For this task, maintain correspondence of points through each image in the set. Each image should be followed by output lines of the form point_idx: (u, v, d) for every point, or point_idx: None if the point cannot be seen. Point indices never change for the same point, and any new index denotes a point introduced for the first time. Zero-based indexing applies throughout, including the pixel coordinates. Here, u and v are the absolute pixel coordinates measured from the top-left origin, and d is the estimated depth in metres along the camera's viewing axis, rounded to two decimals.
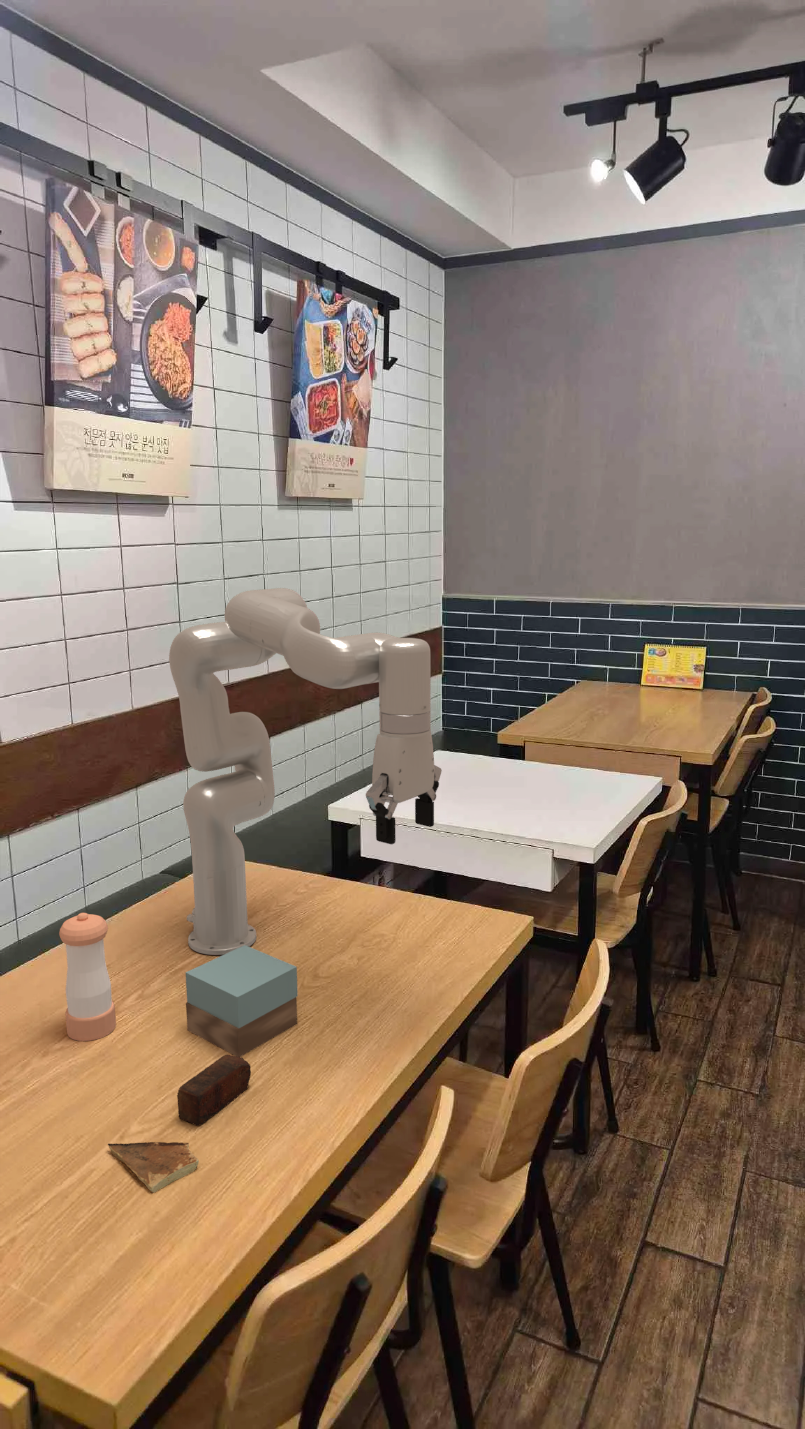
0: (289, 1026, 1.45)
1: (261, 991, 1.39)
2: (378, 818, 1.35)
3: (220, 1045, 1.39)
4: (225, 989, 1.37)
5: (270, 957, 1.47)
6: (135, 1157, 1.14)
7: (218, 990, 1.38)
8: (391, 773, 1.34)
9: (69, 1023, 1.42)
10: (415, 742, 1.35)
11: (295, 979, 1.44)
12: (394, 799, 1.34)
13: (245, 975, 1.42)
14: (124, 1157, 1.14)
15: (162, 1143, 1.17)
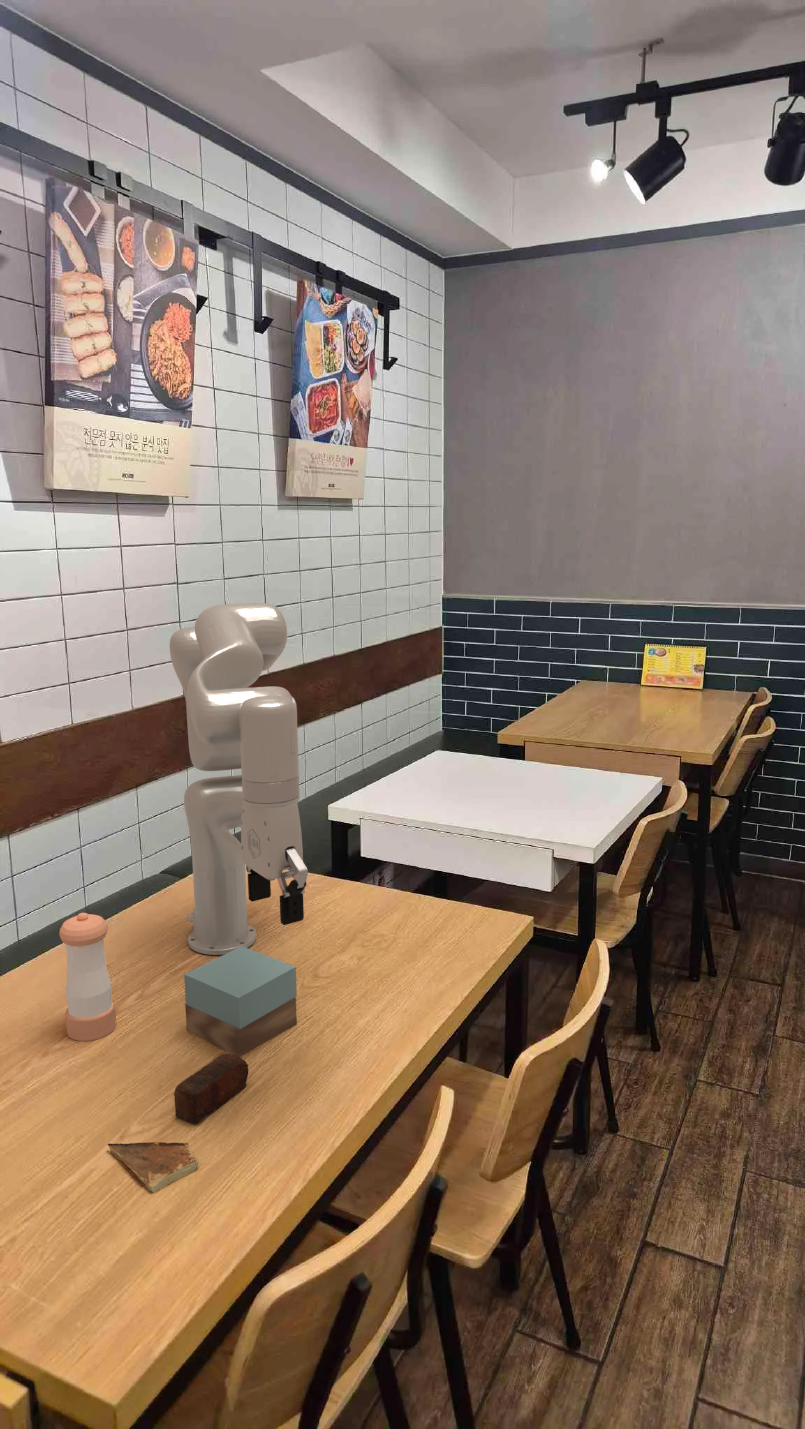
0: (288, 1027, 1.44)
1: (261, 992, 1.39)
2: (291, 898, 1.21)
3: (219, 1045, 1.39)
4: (226, 990, 1.37)
5: (268, 958, 1.47)
6: (135, 1157, 1.14)
7: (218, 991, 1.38)
8: (298, 843, 1.22)
9: (69, 1023, 1.42)
10: None
11: (294, 980, 1.44)
12: None
13: (244, 975, 1.41)
14: (124, 1157, 1.14)
15: (162, 1143, 1.17)
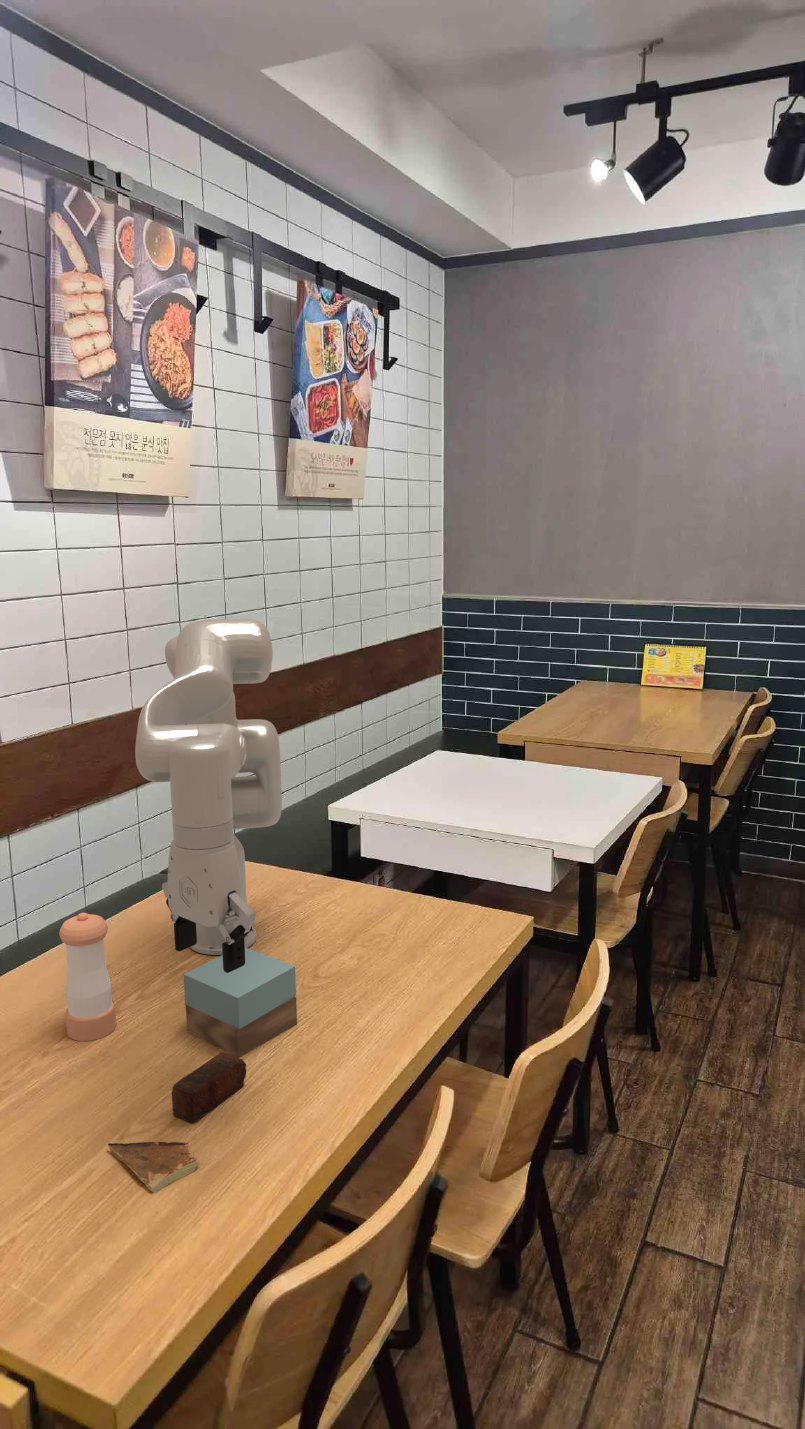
0: (289, 1026, 1.44)
1: (260, 992, 1.39)
2: (235, 944, 1.17)
3: (220, 1045, 1.39)
4: (225, 990, 1.37)
5: (267, 957, 1.47)
6: (135, 1157, 1.14)
7: (217, 991, 1.37)
8: (238, 887, 1.18)
9: (69, 1023, 1.42)
10: None
11: (293, 979, 1.44)
12: None
13: (243, 975, 1.41)
14: (124, 1157, 1.14)
15: (162, 1143, 1.17)
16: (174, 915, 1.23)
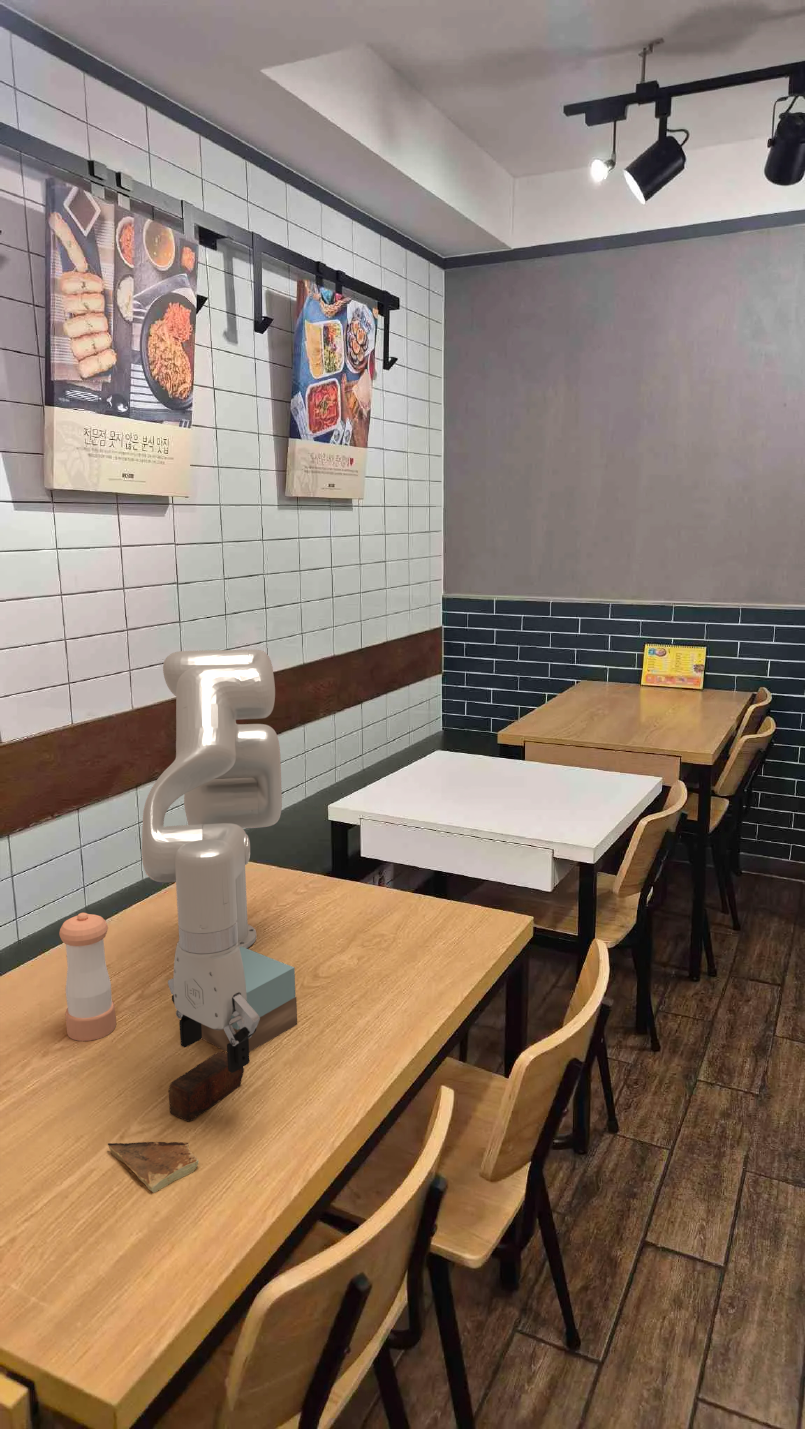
0: (289, 1026, 1.44)
1: (259, 993, 1.38)
2: (239, 1045, 1.20)
3: (220, 1045, 1.39)
4: None
5: (267, 958, 1.47)
6: (135, 1156, 1.14)
7: None
8: (243, 988, 1.20)
9: (69, 1023, 1.42)
10: None
11: (293, 980, 1.44)
12: None
13: None
14: (124, 1157, 1.14)
15: (162, 1143, 1.16)
16: (180, 1012, 1.26)
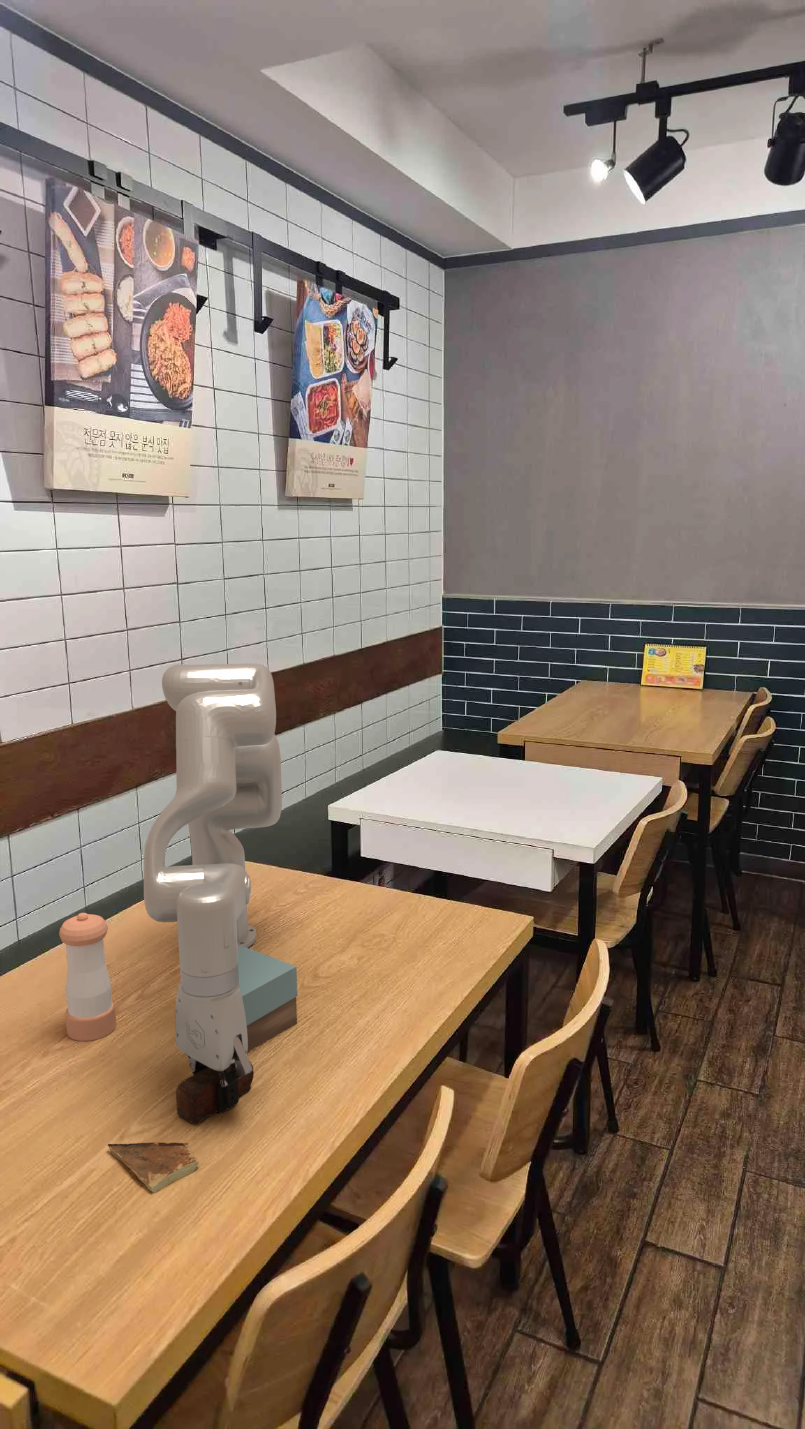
0: (289, 1026, 1.45)
1: (262, 992, 1.39)
2: (228, 1086, 1.23)
3: None
4: None
5: (269, 957, 1.47)
6: (135, 1157, 1.14)
7: None
8: (243, 1030, 1.22)
9: (69, 1023, 1.42)
10: None
11: (295, 979, 1.44)
12: (246, 1054, 1.23)
13: (245, 975, 1.41)
14: (124, 1157, 1.14)
15: (162, 1143, 1.17)
16: (192, 1063, 1.26)
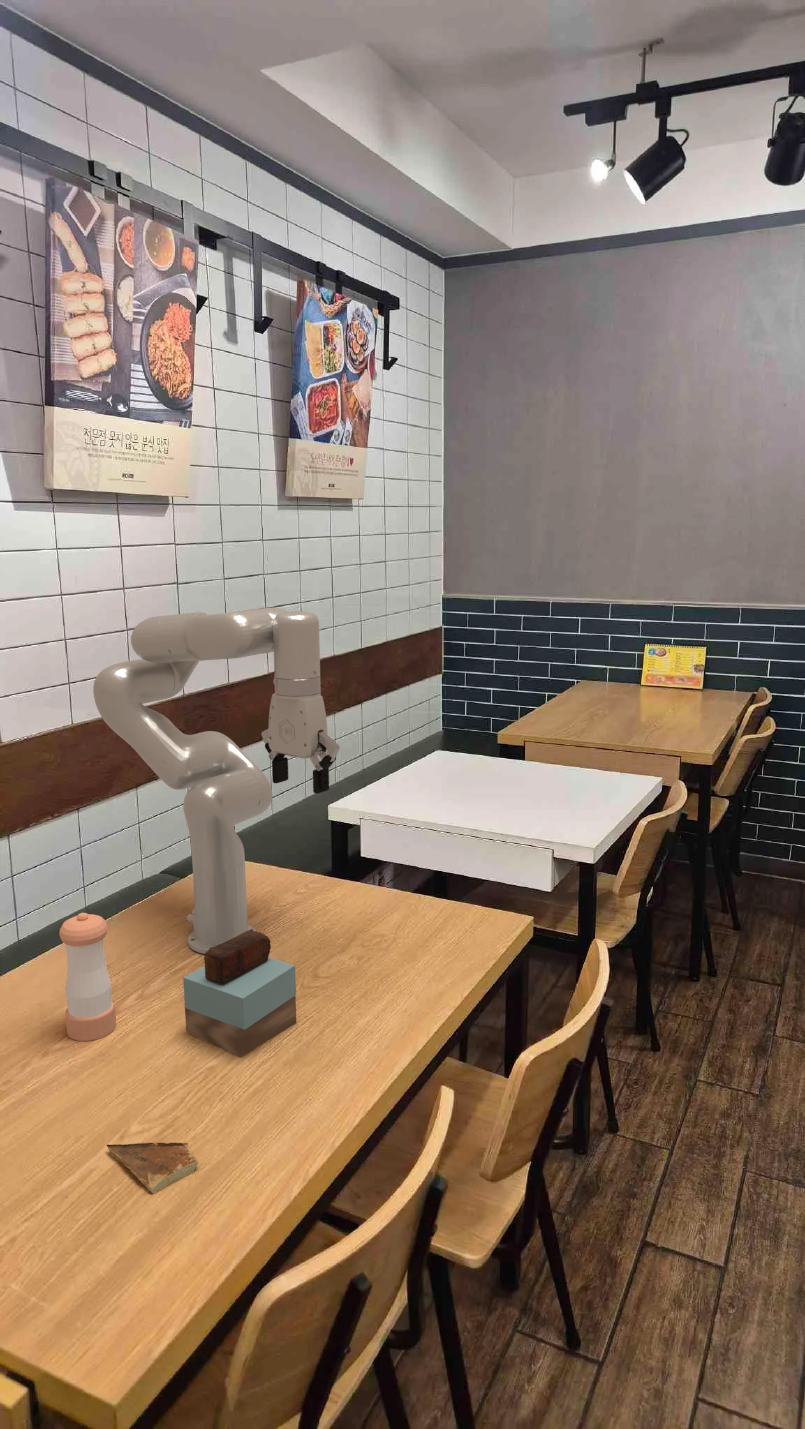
0: (288, 1025, 1.45)
1: (263, 992, 1.39)
2: (322, 771, 1.52)
3: (221, 1045, 1.39)
4: (229, 992, 1.36)
5: None
6: (135, 1157, 1.14)
7: (220, 993, 1.37)
8: (325, 728, 1.53)
9: (69, 1023, 1.42)
10: None
11: (293, 978, 1.45)
12: (326, 749, 1.54)
13: (245, 976, 1.41)
14: (123, 1158, 1.14)
15: (161, 1143, 1.16)
16: (272, 755, 1.58)
